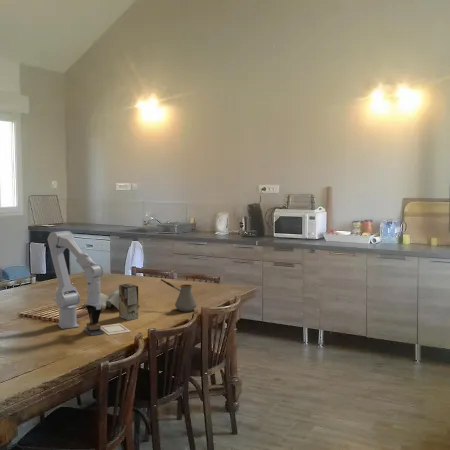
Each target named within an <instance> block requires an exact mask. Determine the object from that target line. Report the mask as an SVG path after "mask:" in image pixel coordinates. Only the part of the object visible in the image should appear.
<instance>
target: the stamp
mask: <svg viewBox="0 0 450 450" xmlns="http://www.w3.org/2000/svg"><path fill="white" fill-rule="evenodd" d="M101 326H102V325H101V324H100V323H99V322H98V323H95V324H93V322H92V316H91V314H90V318H89V322H86V327H87V328H88V329H89V330H91V331H95V330H100V329H101Z"/></svg>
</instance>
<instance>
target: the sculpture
mask: <svg viewBox="0 0 450 450" xmlns="http://www.w3.org/2000/svg"><path fill="white" fill-rule="evenodd" d="M100 301H101V307H102V308H103V309H104V310H105V309H106V308H111V307H112V305H113V306H114V307H115V308H116V309H117V310H118V311H119V288H117V289H116V288H115V289H113V290H112V291H111V292H110V293H108V294H107V295H106V294H104V293H102V292H100ZM138 308H141V306H140V304H138ZM103 309H102V310H103Z"/></svg>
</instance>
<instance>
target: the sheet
mask: <svg viewBox="0 0 450 450" xmlns="http://www.w3.org/2000/svg"><path fill="white" fill-rule="evenodd" d="M101 329H102V330H103V331H104V334H106V335H108V336H111V335H112V336H113V335H117V334H126V333H132V330H129V328H127V327H126V326H124V325H122V324H121V323H113V324H112V323H111V324H105V325H101Z"/></svg>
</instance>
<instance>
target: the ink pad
mask: <svg viewBox="0 0 450 450" xmlns="http://www.w3.org/2000/svg"><path fill="white" fill-rule="evenodd" d="M83 329H84V331H85V332H86V333H87V334H88V335H89V336H90V337H92V335H93V336H99V335H105V332H104V331H103V330H102V329H100V330H95V331H91V330H89V329H88V328H87V326H86V327H84V328H83Z"/></svg>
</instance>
